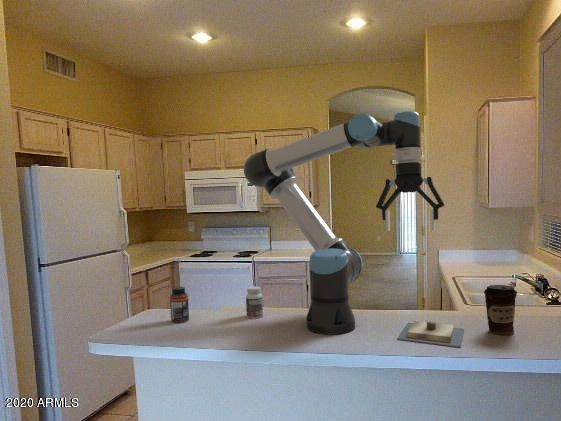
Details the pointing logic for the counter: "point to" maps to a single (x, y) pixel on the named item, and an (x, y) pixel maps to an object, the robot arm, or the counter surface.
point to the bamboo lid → (431, 331)
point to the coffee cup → (500, 308)
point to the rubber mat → (454, 342)
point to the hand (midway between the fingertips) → (410, 230)
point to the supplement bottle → (179, 305)
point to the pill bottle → (254, 302)
